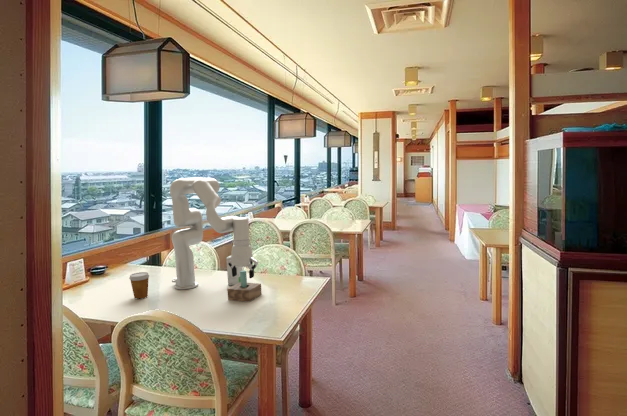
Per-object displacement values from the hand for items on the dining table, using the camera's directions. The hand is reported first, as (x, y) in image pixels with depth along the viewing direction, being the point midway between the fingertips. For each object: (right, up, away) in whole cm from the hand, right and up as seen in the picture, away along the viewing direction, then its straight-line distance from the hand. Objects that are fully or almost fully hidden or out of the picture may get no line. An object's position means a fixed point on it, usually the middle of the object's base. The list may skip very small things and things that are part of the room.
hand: (243, 276), depth 207 cm
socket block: (+1, -10, +1) cm, 10 cm away
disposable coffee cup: (-53, -12, +8) cm, 55 cm away
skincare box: (-8, -8, +26) cm, 28 cm away
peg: (+1, -9, +1) cm, 9 cm away
